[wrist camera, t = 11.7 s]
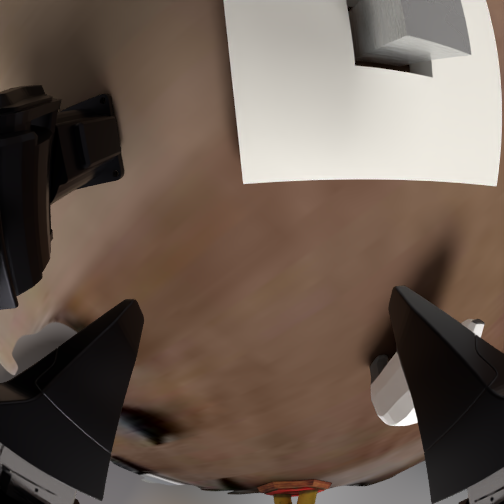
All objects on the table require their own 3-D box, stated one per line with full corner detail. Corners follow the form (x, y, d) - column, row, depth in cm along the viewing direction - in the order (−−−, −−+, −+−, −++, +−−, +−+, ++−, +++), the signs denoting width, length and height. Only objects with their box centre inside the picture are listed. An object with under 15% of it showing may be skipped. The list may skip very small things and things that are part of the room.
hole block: (247, 171, 18) (243, 184, 15) (222, -58, 9) (215, -78, 6) (473, 174, 16) (496, 186, 13) (454, -26, 7) (473, -34, 5)
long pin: (351, 60, 13) (407, 35, 7) (345, 15, 12) (392, -32, 5) (398, 66, 13) (471, 55, 6) (393, 22, 11) (458, -9, 5)
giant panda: (398, 373, 28) (417, 440, 20) (360, 373, 28) (375, 446, 20) (463, 276, 21) (513, 346, 12) (424, 268, 21) (476, 349, 12)
